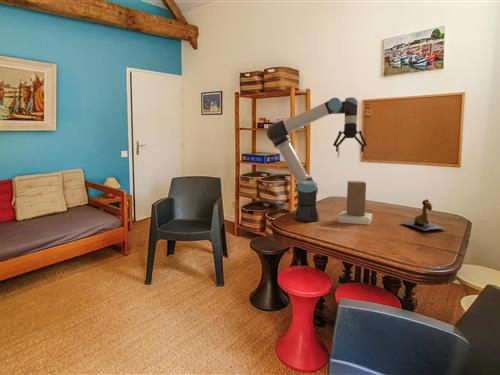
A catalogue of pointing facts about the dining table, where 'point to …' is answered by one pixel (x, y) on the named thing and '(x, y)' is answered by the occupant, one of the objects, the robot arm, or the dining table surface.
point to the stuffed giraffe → (423, 218)
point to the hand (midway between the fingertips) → (349, 157)
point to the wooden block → (356, 198)
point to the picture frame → (355, 218)
